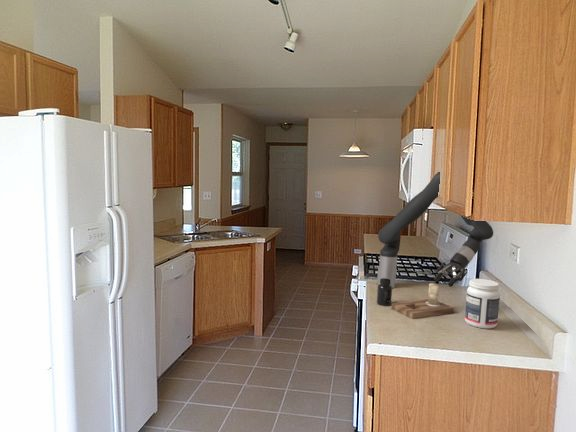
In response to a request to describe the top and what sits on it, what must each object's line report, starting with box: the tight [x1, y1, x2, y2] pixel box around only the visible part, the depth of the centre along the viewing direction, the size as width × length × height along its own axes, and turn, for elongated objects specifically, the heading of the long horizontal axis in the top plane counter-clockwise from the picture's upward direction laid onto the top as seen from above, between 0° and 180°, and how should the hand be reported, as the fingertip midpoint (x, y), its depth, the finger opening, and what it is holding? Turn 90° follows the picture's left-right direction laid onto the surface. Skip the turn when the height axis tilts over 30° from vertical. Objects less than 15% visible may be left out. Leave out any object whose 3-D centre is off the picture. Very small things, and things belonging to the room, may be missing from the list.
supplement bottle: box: [376, 278, 393, 307], centre depth 205 cm, size 7×7×12 cm
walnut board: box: [391, 298, 455, 320], centre depth 197 cm, size 14×24×3 cm, turn 115°
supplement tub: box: [464, 278, 501, 330], centre depth 182 cm, size 13×13×18 cm
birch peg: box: [427, 282, 440, 305], centre depth 199 cm, size 4×4×9 cm
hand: (442, 283), depth 201 cm, fingers open, 8 cm apart
